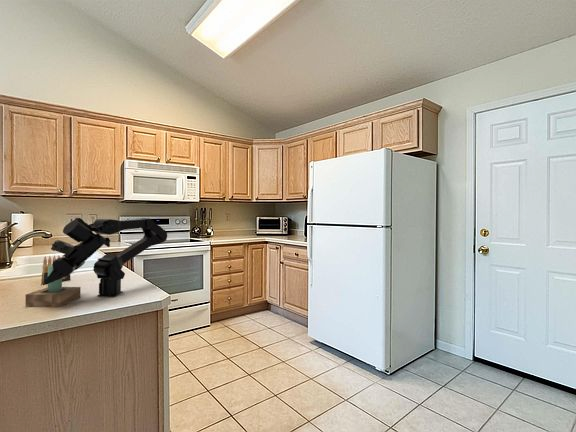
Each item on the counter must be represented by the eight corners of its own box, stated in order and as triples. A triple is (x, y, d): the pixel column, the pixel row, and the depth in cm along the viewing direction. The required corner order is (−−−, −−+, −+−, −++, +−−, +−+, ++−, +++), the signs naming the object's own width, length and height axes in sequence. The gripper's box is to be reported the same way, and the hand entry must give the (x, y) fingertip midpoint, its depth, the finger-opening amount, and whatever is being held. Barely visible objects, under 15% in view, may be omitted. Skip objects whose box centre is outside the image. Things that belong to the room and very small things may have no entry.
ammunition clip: (43, 284, 134) (43, 256, 133) (41, 284, 134) (41, 256, 134) (70, 280, 143) (70, 254, 143) (68, 279, 144) (68, 253, 144)
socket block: (80, 297, 115) (80, 286, 115) (59, 306, 104) (59, 294, 104) (49, 297, 115) (49, 286, 115) (25, 306, 104) (25, 294, 104)
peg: (64, 300, 111) (64, 265, 111) (56, 303, 107) (56, 267, 107) (52, 300, 111) (53, 265, 111) (44, 303, 107) (44, 267, 107)
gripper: (75, 230, 119) (39, 260, 115) (60, 234, 102) (17, 269, 98) (98, 250, 122) (64, 280, 118) (88, 257, 105) (48, 292, 101)
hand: (49, 280), depth 109 cm, fingers open, 9 cm apart
